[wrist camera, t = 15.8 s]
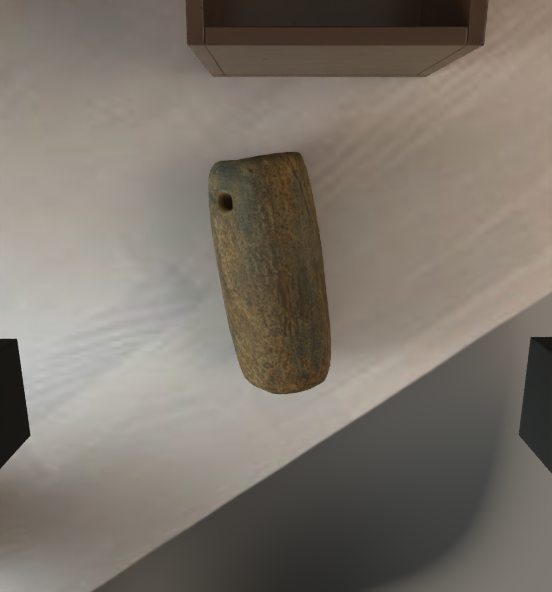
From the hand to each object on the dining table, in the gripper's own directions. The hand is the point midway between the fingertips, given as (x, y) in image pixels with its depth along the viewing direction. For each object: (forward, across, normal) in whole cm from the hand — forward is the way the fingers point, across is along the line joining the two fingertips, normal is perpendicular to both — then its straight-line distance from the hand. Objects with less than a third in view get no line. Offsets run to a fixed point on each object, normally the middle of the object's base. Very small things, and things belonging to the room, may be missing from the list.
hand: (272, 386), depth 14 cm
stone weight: (+24, 0, -2) cm, 24 cm away
